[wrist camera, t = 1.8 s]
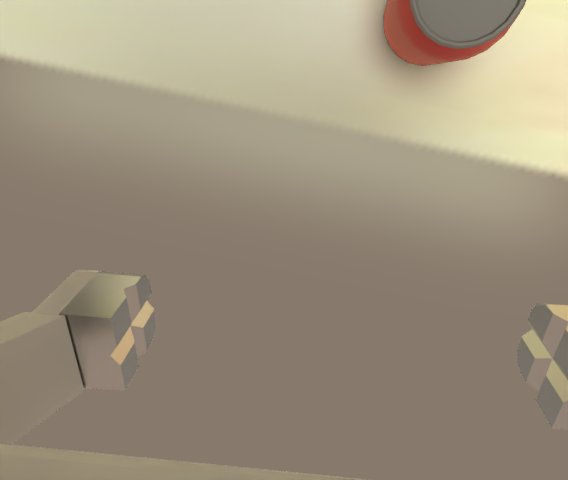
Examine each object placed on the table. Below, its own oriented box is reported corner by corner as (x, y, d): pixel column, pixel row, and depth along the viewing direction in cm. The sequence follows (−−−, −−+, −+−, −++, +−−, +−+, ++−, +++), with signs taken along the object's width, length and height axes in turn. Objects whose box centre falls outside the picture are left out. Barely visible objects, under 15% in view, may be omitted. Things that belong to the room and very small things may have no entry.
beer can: (491, 30, 31) (569, 4, 20) (408, 83, 33) (437, 86, 22) (450, -56, 29) (510, -138, 18) (366, 4, 31) (374, -35, 20)
